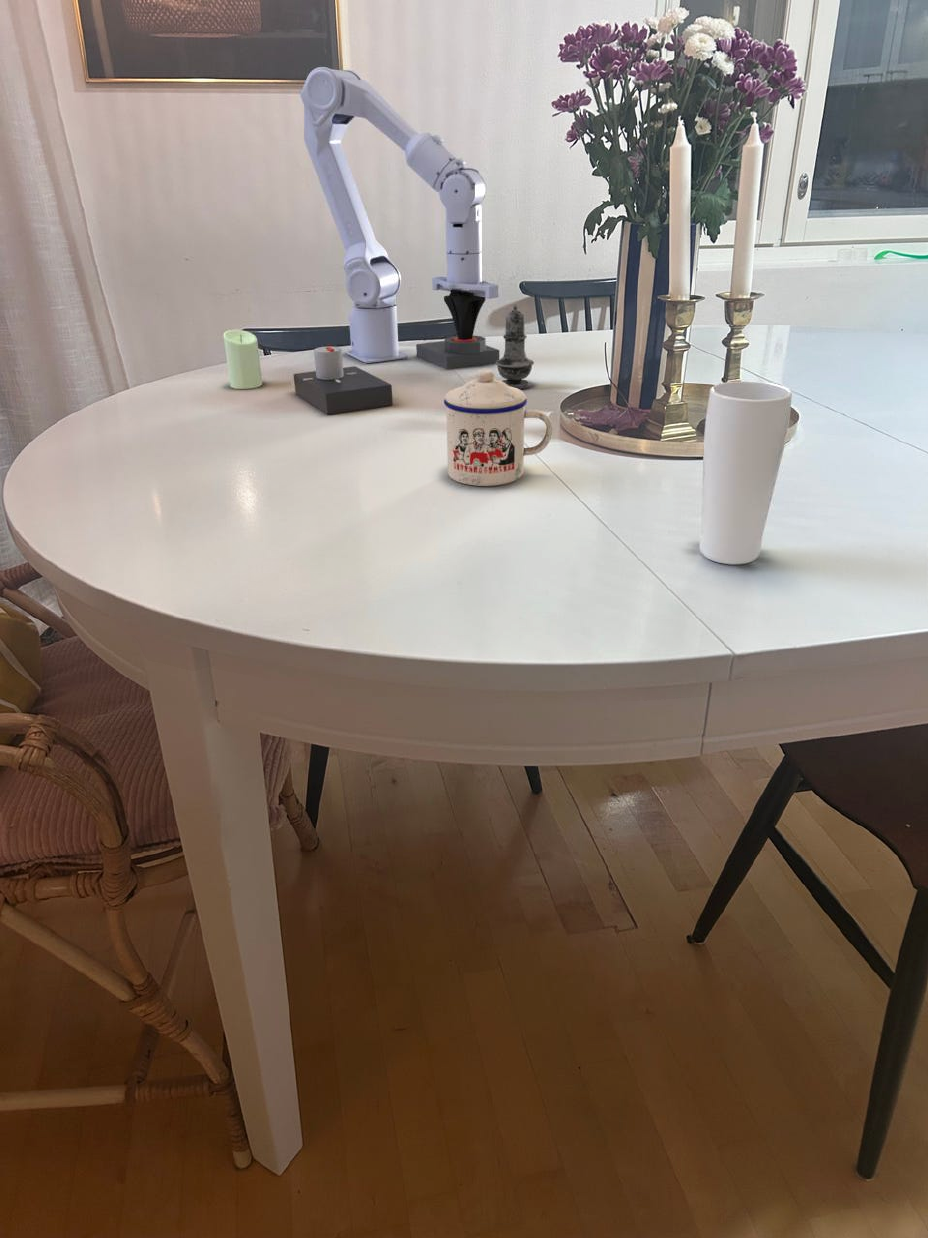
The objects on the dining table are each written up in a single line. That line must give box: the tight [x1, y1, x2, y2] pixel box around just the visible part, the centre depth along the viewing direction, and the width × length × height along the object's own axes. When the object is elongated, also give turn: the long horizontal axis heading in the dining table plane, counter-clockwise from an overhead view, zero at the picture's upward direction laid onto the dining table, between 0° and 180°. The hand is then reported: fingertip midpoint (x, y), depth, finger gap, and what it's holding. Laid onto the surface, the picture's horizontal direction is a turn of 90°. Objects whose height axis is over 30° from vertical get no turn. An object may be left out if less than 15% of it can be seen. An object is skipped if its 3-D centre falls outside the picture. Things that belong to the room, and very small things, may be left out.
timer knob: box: [313, 346, 344, 380], centre depth 133 cm, size 4×4×4 cm
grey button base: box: [415, 334, 500, 370], centre depth 156 cm, size 12×10×4 cm
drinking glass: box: [699, 380, 793, 565], centre depth 79 cm, size 7×7×15 cm
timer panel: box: [293, 365, 394, 416], centre depth 133 cm, size 14×10×3 cm
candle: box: [222, 329, 263, 390], centre depth 140 cm, size 5×5×8 cm
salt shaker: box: [495, 304, 535, 391], centre depth 137 cm, size 6×6×12 cm
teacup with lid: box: [443, 369, 554, 487], centre depth 100 cm, size 12×9×12 cm
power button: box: [453, 337, 477, 342], centre depth 153 cm, size 4×4×2 cm
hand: (465, 338), depth 152 cm, fingers closed, pressing on power button
